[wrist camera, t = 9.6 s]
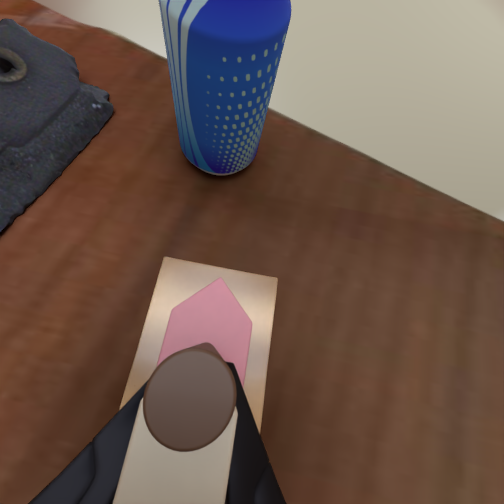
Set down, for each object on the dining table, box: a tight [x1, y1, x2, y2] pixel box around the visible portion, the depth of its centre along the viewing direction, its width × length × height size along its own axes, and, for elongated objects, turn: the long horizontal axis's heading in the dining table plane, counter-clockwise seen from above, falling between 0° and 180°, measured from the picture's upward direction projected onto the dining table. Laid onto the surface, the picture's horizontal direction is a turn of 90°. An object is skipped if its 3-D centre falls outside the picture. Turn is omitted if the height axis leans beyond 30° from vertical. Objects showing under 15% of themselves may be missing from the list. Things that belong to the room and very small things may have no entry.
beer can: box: [159, 0, 291, 175], centre depth 21 cm, size 8×8×16 cm
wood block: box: [119, 257, 278, 433], centre depth 19 cm, size 14×9×4 cm, turn 171°
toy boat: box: [113, 277, 253, 504], centre depth 9 cm, size 10×4×13 cm, turn 171°
